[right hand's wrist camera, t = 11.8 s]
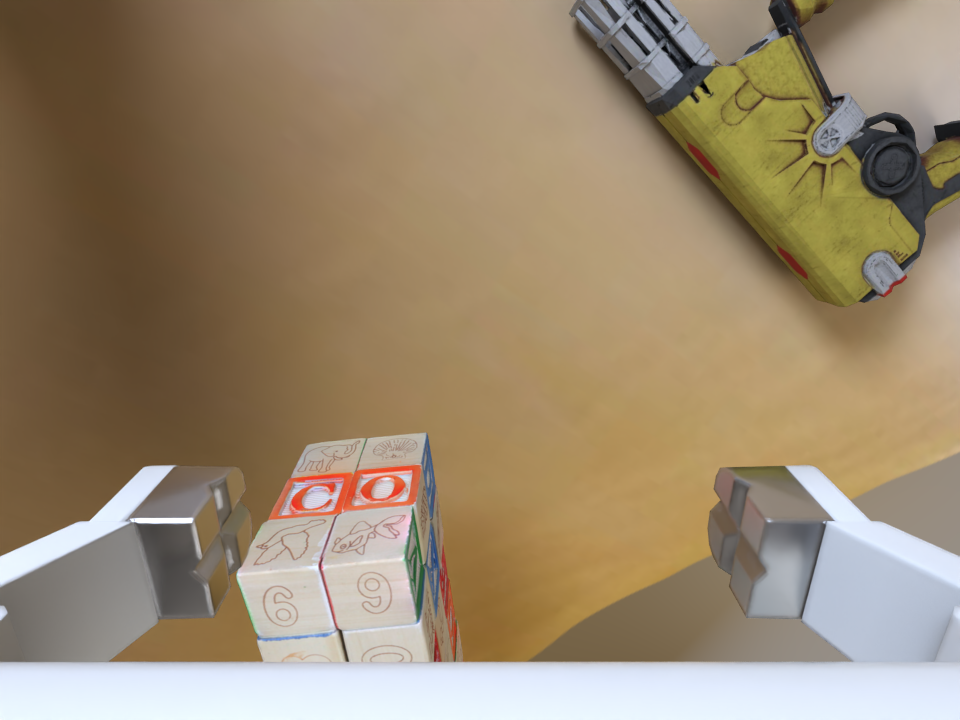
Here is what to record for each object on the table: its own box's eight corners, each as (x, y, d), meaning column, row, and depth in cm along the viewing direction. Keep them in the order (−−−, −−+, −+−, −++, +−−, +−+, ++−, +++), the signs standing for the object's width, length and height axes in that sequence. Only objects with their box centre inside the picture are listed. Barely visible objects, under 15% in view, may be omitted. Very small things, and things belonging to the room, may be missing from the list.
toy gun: (820, -276, 26) (578, -6, 29) (1092, 126, 31) (865, 326, 34) (767, -207, 31) (562, 21, 33) (1012, 135, 36) (817, 310, 38)
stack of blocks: (303, 440, 29) (195, 642, 18) (428, 427, 29) (402, 624, 18) (375, 738, 37) (332, 1012, 26) (474, 729, 37) (476, 1001, 25)
